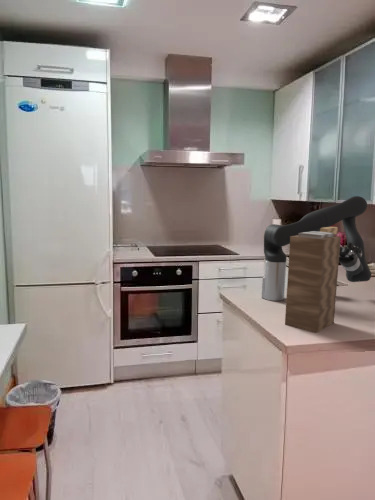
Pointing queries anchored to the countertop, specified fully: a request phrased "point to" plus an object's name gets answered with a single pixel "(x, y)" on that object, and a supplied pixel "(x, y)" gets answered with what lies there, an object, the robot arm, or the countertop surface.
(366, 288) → the countertop surface
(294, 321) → the plinth
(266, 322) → the countertop surface
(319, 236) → the rectangular straight-edged part
